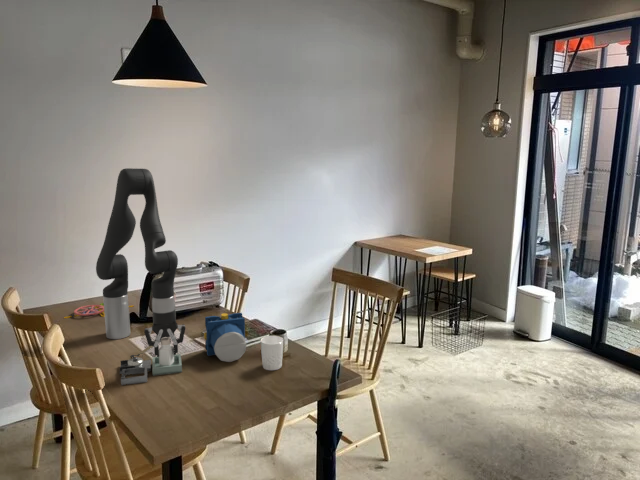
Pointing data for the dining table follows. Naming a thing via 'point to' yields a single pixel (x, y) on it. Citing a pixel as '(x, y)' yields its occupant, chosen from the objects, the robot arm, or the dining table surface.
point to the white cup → (272, 352)
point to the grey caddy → (134, 370)
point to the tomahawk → (144, 350)
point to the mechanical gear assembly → (90, 310)
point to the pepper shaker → (166, 352)
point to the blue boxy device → (225, 336)
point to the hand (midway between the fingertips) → (166, 354)
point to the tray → (161, 370)
